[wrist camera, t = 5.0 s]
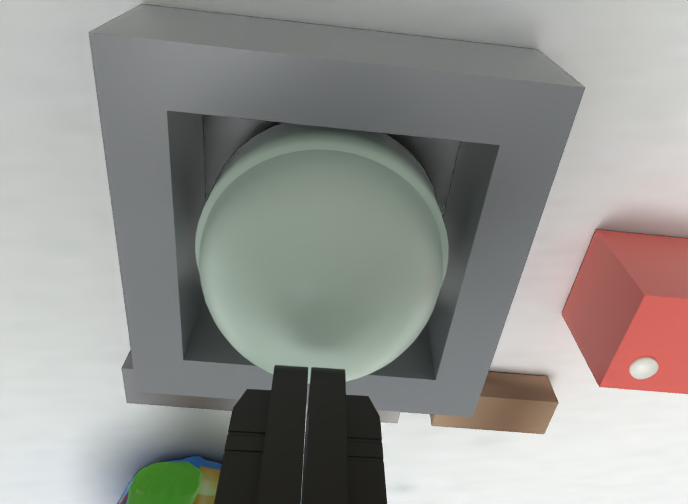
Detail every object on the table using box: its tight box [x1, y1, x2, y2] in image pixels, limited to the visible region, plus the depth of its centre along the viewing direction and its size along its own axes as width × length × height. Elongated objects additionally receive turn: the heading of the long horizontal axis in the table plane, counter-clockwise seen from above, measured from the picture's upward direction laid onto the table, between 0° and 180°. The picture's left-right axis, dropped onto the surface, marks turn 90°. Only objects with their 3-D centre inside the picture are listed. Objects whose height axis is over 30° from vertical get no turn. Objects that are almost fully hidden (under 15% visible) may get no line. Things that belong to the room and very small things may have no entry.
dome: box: [195, 123, 449, 384], centre depth 17 cm, size 8×8×7 cm
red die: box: [562, 230, 688, 394], centre depth 20 cm, size 4×4×4 cm
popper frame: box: [89, 4, 585, 417], centre depth 18 cm, size 12×12×4 cm
